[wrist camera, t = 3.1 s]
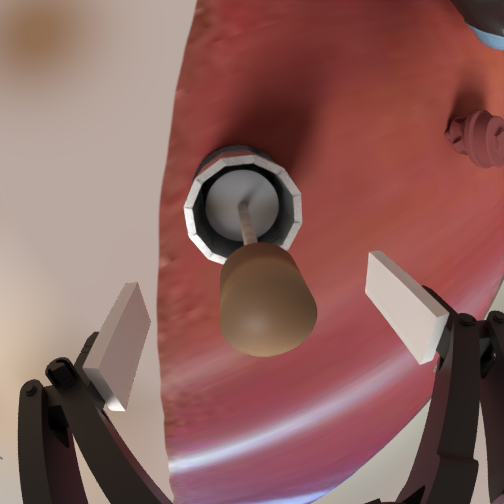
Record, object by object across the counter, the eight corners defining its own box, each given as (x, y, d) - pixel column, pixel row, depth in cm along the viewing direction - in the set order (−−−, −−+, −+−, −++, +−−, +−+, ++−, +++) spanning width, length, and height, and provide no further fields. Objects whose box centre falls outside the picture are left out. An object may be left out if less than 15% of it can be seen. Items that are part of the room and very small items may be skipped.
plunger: (201, 174, 29) (159, 250, 10) (274, 166, 30) (359, 226, 11) (211, 242, 33) (199, 386, 14) (279, 234, 33) (344, 364, 14)
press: (186, 151, 36) (169, 159, 25) (280, 140, 37) (304, 143, 25) (202, 254, 43) (195, 300, 31) (287, 244, 43) (309, 285, 32)
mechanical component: (455, 98, 35) (476, 141, 38) (429, 127, 37) (453, 170, 40) (504, 100, 23) (522, 151, 27) (480, 133, 26) (500, 186, 29)
